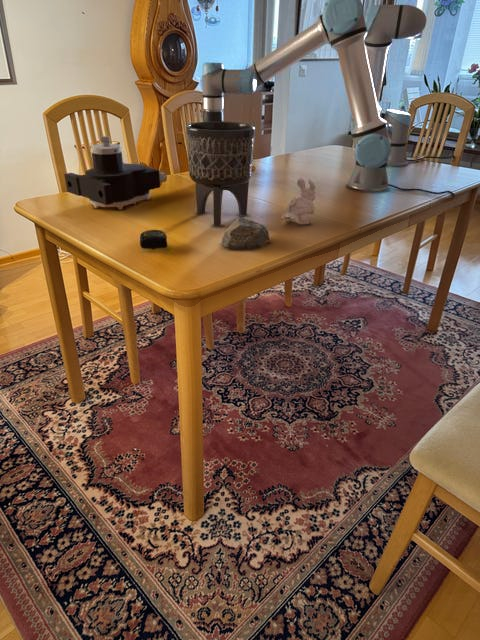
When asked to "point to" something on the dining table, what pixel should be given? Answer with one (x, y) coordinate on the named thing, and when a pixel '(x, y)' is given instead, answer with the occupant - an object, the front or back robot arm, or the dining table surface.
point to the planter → (220, 162)
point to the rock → (245, 234)
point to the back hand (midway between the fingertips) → (372, 99)
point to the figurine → (301, 204)
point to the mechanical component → (113, 178)
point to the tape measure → (153, 239)
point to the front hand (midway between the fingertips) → (213, 170)
